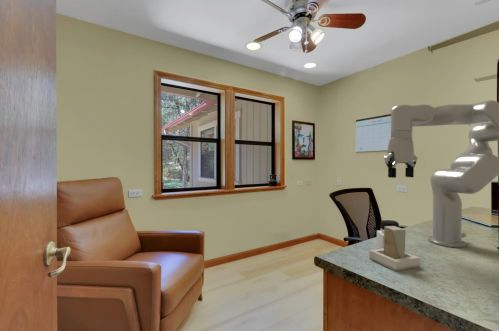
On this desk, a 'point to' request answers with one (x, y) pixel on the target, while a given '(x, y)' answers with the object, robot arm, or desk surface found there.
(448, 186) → the robot arm
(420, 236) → the desk surface
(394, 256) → the box
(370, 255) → the shallow square tray
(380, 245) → the medicine bottle
